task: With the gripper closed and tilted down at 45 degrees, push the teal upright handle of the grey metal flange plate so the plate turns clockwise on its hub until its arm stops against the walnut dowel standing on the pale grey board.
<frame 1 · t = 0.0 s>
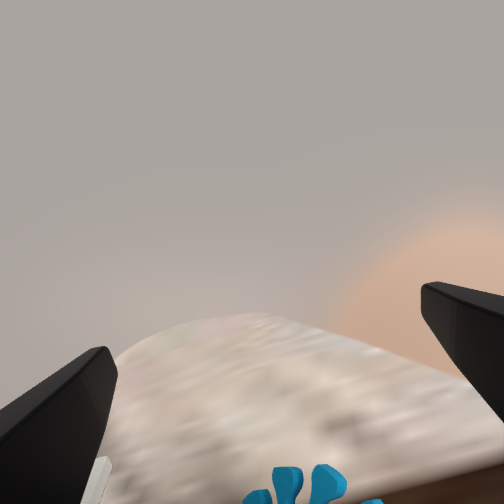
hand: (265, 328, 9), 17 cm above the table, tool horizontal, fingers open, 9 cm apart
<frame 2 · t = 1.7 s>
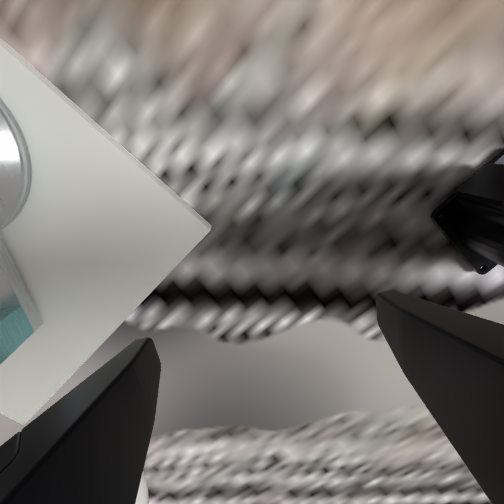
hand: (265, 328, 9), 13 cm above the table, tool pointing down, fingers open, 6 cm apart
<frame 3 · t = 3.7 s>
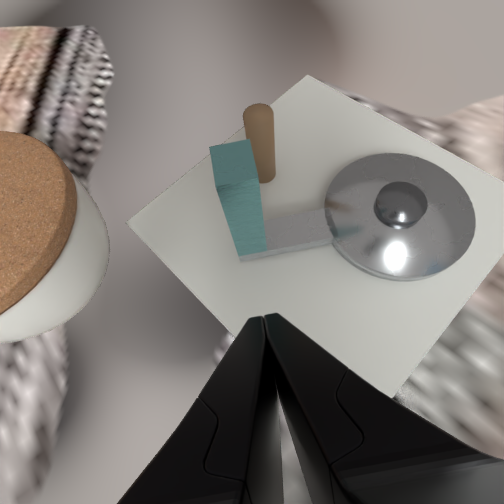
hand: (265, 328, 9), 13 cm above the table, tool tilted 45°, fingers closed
lidded bowl: (62, 276, 25), on the table
clock board: (386, 226, 24), on the table
flange plate: (363, 188, 19), point 6 cm above the table, hinge at 0.0°
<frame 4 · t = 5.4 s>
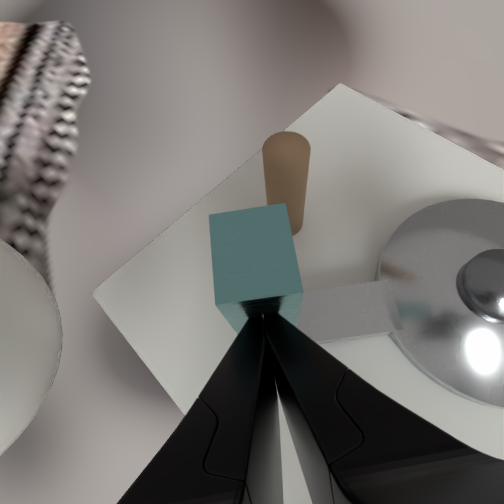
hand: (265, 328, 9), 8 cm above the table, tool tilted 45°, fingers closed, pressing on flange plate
lidded bowl: (1, 367, 18), on the table
clock board: (465, 303, 17), on the table
flange plate: (461, 272, 11), point 6 cm above the table, hinge at -2.7°, touching gripper
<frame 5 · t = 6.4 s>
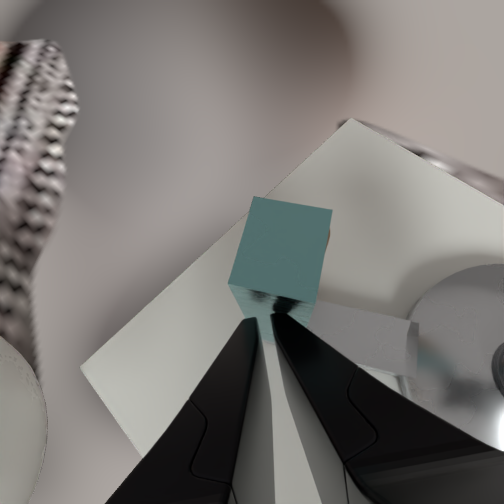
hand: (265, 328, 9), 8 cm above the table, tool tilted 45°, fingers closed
clock board: (496, 379, 15), on the table
flange plate: (501, 346, 10), point 6 cm above the table, hinge at -25.0°, touching clock board, gripper
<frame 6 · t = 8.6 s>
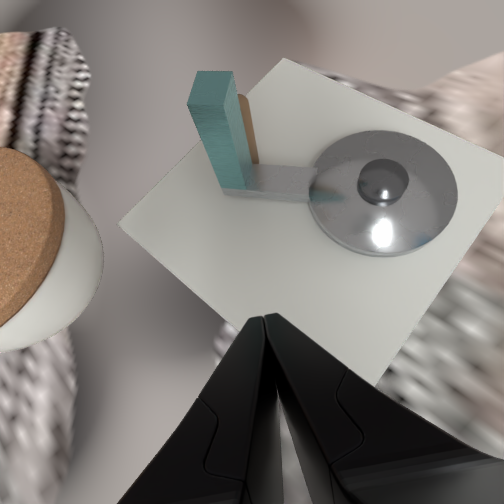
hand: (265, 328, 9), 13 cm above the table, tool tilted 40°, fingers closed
lidded bowl: (61, 282, 26), on the table
clock board: (372, 204, 24), on the table
flange plate: (339, 151, 19), point 6 cm above the table, hinge at -25.0°, touching clock board
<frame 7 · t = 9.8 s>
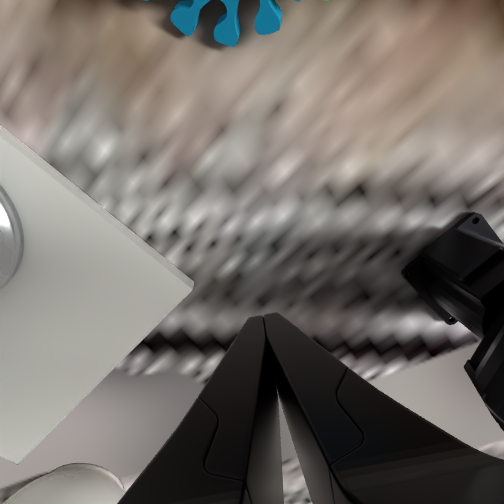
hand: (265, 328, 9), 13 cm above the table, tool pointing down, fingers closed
lidded bowl: (85, 487, 29), on the table
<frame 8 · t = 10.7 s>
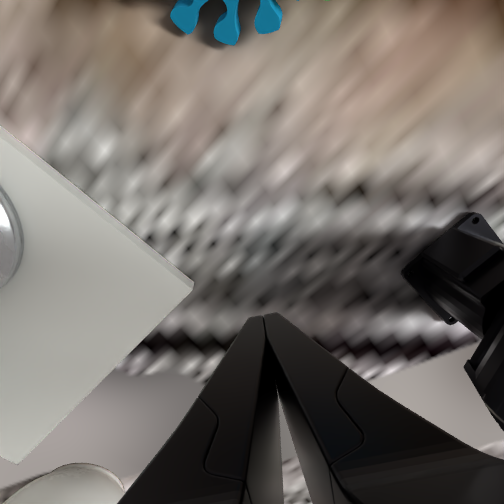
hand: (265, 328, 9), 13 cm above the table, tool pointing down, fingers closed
lidded bowl: (85, 487, 29), on the table
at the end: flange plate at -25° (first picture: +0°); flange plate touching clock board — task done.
